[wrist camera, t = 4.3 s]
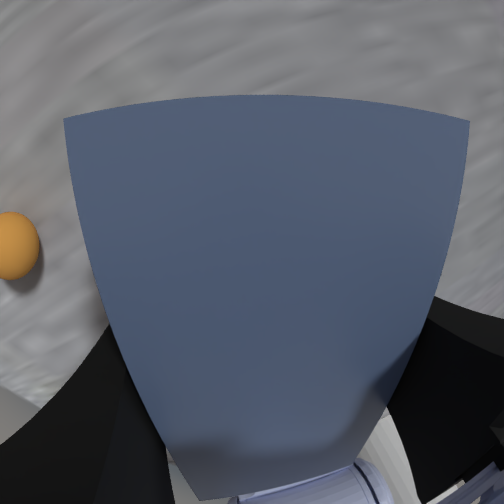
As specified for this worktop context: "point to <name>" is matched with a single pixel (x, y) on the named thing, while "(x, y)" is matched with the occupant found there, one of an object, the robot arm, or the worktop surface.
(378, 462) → the bottle
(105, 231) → the slate blue block
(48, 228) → the worktop surface
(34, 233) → the ball
